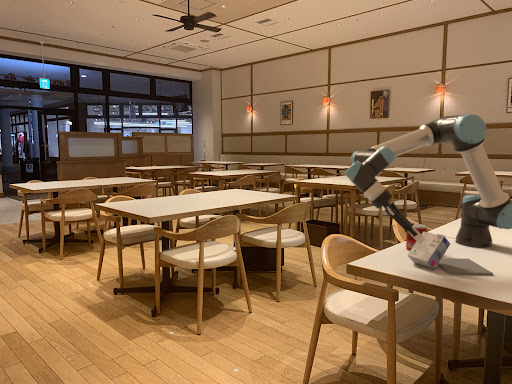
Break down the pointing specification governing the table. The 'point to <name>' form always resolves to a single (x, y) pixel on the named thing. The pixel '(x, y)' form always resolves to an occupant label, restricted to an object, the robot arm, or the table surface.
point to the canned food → (409, 239)
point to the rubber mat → (462, 267)
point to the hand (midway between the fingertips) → (422, 241)
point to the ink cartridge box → (429, 250)
